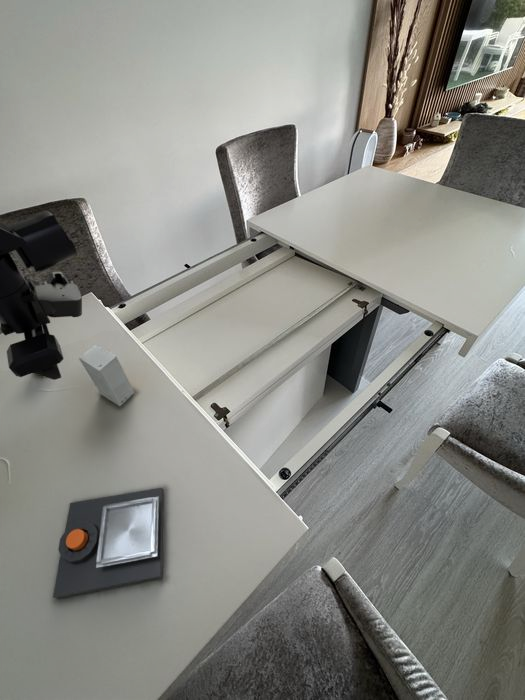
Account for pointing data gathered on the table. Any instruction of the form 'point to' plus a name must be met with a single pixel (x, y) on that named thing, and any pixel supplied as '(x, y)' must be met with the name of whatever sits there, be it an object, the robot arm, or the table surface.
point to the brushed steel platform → (128, 532)
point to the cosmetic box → (107, 374)
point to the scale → (81, 564)
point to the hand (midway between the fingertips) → (53, 359)
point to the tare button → (76, 539)
